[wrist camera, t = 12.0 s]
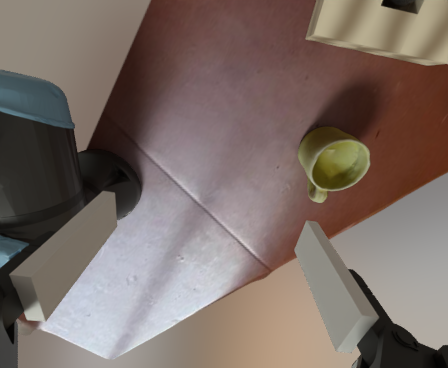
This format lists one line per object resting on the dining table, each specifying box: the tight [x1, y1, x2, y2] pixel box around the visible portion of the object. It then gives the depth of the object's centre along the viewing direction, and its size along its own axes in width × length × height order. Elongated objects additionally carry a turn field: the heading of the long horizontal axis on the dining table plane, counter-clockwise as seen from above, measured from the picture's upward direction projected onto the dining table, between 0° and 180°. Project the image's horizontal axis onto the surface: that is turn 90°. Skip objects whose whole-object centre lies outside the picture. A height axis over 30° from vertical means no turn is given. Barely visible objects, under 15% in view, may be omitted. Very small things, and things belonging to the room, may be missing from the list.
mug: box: [298, 127, 370, 203], centre depth 36 cm, size 12×10×10 cm
